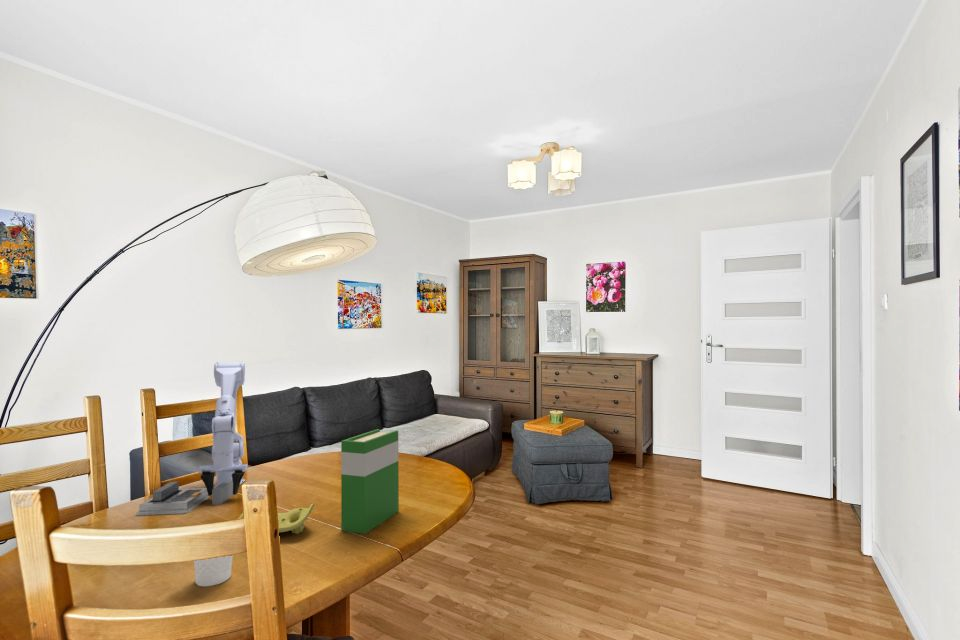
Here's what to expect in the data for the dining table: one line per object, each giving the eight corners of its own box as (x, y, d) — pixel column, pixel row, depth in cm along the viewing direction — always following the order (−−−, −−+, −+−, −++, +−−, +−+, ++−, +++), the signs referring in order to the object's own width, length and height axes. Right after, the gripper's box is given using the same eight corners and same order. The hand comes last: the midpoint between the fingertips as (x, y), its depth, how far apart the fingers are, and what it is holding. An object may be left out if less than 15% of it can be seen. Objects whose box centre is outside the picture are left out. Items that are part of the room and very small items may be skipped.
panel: (225, 495, 161) (225, 480, 162) (233, 494, 162) (233, 479, 162) (212, 505, 152) (212, 489, 152) (220, 504, 152) (220, 488, 152)
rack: (166, 498, 159) (166, 479, 159) (210, 496, 160) (211, 477, 160) (136, 515, 143) (137, 495, 143) (186, 513, 144) (186, 493, 144)
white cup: (194, 592, 99) (194, 542, 99) (190, 577, 105) (191, 530, 105) (236, 580, 103) (237, 533, 104) (230, 566, 110) (231, 522, 110)
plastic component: (230, 529, 126) (251, 500, 135) (240, 549, 129) (260, 520, 138) (299, 528, 122) (316, 499, 131) (307, 549, 125) (324, 519, 134)
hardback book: (377, 508, 147) (377, 429, 147) (398, 511, 144) (398, 430, 145) (341, 530, 130) (341, 440, 131) (364, 533, 127) (364, 442, 128)
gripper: (194, 455, 153) (193, 499, 152) (241, 454, 154) (241, 497, 153) (204, 450, 160) (204, 492, 159) (250, 449, 161) (249, 490, 160)
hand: (223, 494), depth 157 cm, fingers open, 7 cm apart
